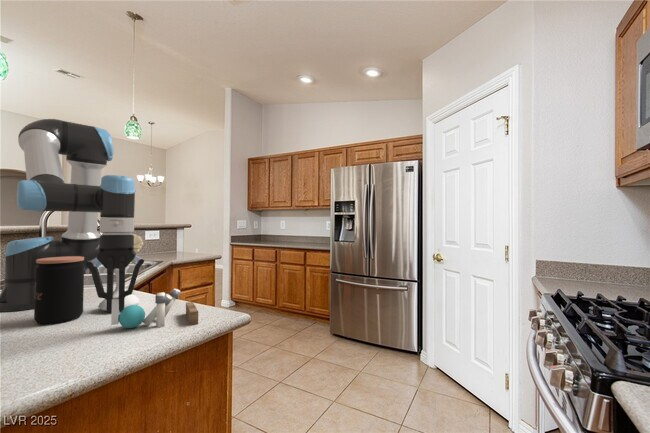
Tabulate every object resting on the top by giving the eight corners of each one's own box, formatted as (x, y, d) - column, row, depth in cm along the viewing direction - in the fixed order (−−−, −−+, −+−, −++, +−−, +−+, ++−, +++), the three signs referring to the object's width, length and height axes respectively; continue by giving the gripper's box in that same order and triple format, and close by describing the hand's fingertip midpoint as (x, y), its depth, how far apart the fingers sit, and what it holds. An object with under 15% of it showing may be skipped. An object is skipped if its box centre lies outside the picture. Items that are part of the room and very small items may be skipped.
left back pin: (155, 317, 86) (172, 288, 91) (164, 320, 87) (180, 292, 92) (156, 316, 84) (173, 287, 89) (165, 320, 85) (182, 291, 90)
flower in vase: (88, 314, 92) (90, 234, 93) (114, 304, 103) (115, 232, 104) (131, 313, 92) (132, 234, 93) (151, 304, 104) (153, 233, 104)
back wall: (185, 313, 92) (185, 302, 92) (192, 313, 93) (192, 301, 93) (190, 325, 82) (190, 312, 82) (198, 324, 83) (198, 311, 83)
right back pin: (154, 325, 82) (155, 292, 82) (165, 323, 83) (166, 291, 83) (155, 328, 79) (155, 294, 80) (165, 326, 81) (166, 293, 81)
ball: (126, 300, 82) (150, 303, 84) (121, 322, 82) (144, 324, 84) (118, 307, 76) (143, 310, 78) (112, 330, 76) (138, 333, 78)
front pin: (141, 319, 82) (165, 292, 85) (149, 324, 83) (173, 297, 86) (141, 322, 80) (165, 294, 83) (149, 327, 81) (173, 299, 84)
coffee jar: (44, 316, 89) (46, 257, 90) (88, 312, 94) (89, 255, 94) (25, 327, 80) (27, 261, 80) (75, 322, 84) (76, 259, 84)
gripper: (83, 234, 72) (80, 331, 72) (145, 233, 79) (143, 322, 78) (88, 233, 79) (86, 323, 78) (145, 233, 85) (144, 315, 85)
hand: (115, 322), depth 78 cm, fingers closed
